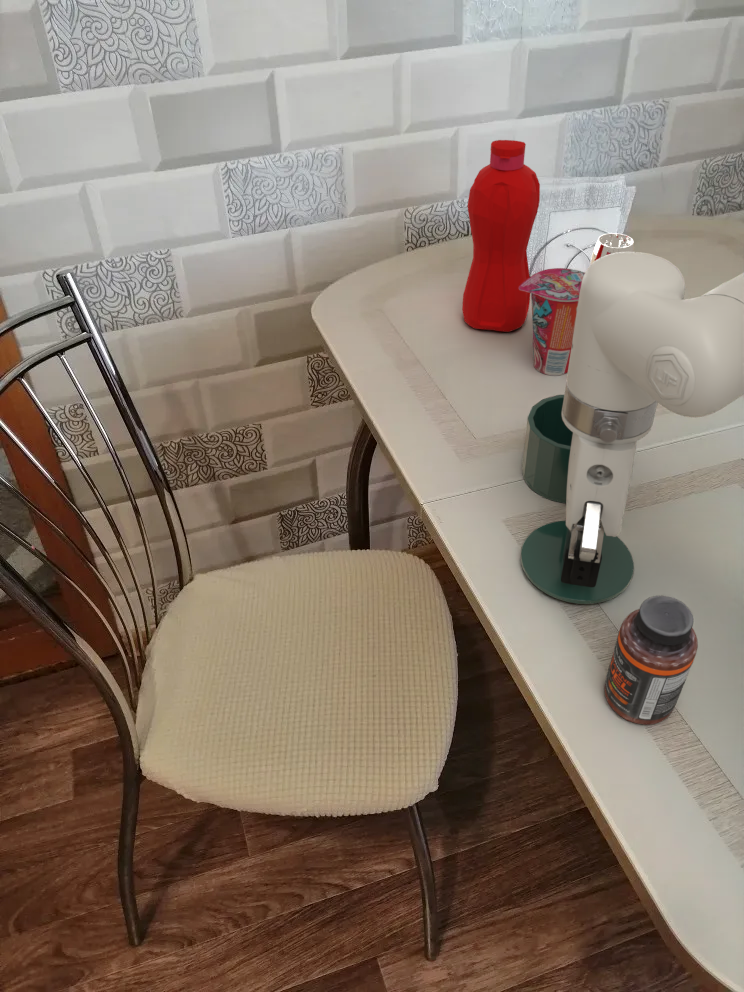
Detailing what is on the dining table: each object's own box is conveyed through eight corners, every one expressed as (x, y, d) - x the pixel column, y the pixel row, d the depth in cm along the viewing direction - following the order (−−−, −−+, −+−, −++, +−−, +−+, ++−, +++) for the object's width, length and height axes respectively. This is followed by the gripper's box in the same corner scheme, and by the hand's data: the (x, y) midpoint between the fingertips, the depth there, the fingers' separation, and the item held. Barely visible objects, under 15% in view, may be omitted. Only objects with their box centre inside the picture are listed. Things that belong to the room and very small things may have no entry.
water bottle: (532, 300, 120) (551, 126, 104) (522, 337, 112) (541, 156, 96) (471, 294, 122) (480, 123, 106) (458, 330, 115) (465, 151, 98)
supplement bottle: (589, 679, 70) (611, 595, 62) (649, 661, 71) (677, 575, 64) (626, 737, 66) (654, 653, 58) (688, 716, 67) (724, 631, 59)
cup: (553, 341, 111) (564, 261, 103) (597, 368, 106) (613, 286, 98) (502, 363, 108) (509, 281, 100) (545, 392, 102) (556, 308, 94)
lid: (617, 526, 84) (629, 479, 79) (644, 607, 76) (658, 559, 71) (513, 529, 84) (518, 482, 80) (528, 609, 76) (535, 562, 72)
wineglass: (629, 325, 114) (646, 245, 106) (593, 332, 113) (607, 252, 105) (609, 307, 118) (624, 228, 110) (574, 313, 117) (586, 235, 109)
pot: (601, 445, 94) (612, 393, 89) (620, 502, 87) (633, 448, 82) (516, 447, 94) (522, 395, 89) (528, 504, 87) (535, 451, 82)
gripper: (657, 475, 60) (618, 621, 71) (654, 353, 72) (621, 494, 83) (555, 462, 61) (533, 607, 73) (570, 345, 74) (549, 485, 85)
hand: (580, 547), depth 78 cm, fingers open, 9 cm apart
